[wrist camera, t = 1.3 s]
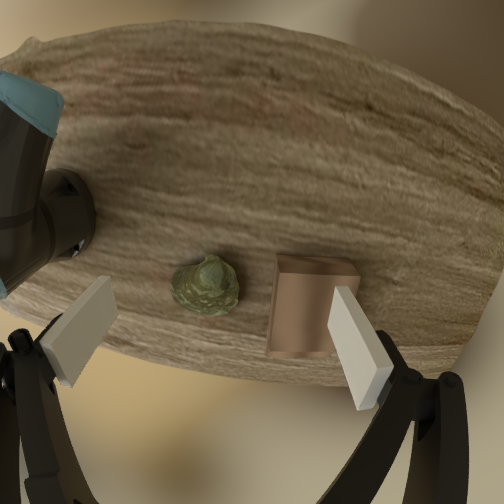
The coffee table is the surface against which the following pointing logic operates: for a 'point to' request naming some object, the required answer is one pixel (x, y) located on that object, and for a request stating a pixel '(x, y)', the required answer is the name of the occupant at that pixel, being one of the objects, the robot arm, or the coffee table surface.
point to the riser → (305, 304)
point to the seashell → (206, 287)
